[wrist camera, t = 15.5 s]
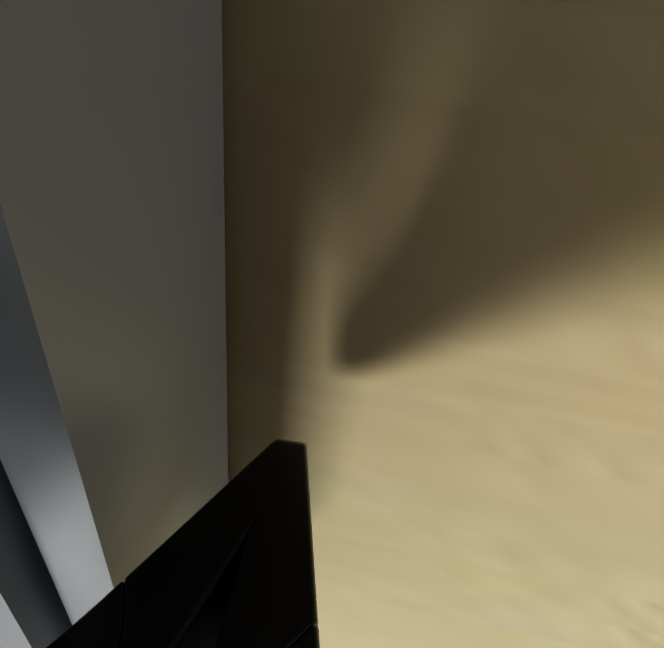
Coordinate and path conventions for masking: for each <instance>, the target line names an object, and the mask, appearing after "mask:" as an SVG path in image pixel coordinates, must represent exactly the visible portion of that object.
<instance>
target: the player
mask: <svg viewBox="0 0 664 648" xmlns="http://www.w3.org/2000/svg"><path fill="white" fill-rule="evenodd" d="M71 626H72V623H71V621H70V619H69V616H68V614H67V612H66V610H65V607H64V605H63V603H62V600H61V598H60V596H59V593H58V591H57V589H56V587H55V584H54V582H53V580H52V577H51V575H50V573H49V570H48V568H47V566H46V563H45V561H44V559H43V557H42V554H41V552H40V550H39V547H38V545H37V543H36V540H35V538H34V536H33V534H32V531H31V529H30V527H29V524H28V522H27V520H26V517H25V515H24V513H23V510H22V508H21V506H20V504H19V501H18V499H17V497H16V494H15V492H14V490H13V487H12V485H11V483H10V480H9V478H8V476H7V474H6V471H5V469H4V467H3V464H2V462H1V460H0V648H46V647H47V646H48V645H50V644H51V643H52V642H53V641H54V640H56V639H57V638H58V637H59V636H61V635H62V634H63V633H64V632H66V631H67V630H68V629H69V628H70V627H71Z"/></svg>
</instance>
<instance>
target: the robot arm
mask: <svg viewBox="0 0 664 648" xmlns="http://www.w3.org/2000/svg"><path fill="white" fill-rule="evenodd" d="M46 648H320V644H319V629H318V617H317V601H316V586H315V570H314V555H313V539H312V524H311V509H310V493H309V478H308V462H307V447H306V444H305V443H300V442H294V441H288V440H282V439H277V440H275V441H273V442H272V443H271V444H270V445H269V446H268V447H267V448H266V449H265V450H264V451H262V452H261V453H260V454H259V455H258V456H257V457H256V458H255V459H254V460H253V461H252V462H251V463H249V464H248V465H247V466H246V467H245V468H244V469H243V470H242V471H241V472H240V473H239V474H238V475H236V476H235V477H234V478H233V479H232V480H231V481H230V482H229V483H228V484H227V485H226V486H224V487H223V488H222V489H221V490H220V491H219V492H218V493H217V494H216V495H215V496H214V497H213V498H211V499H210V500H209V501H208V502H207V503H206V504H205V505H204V506H203V507H202V508H201V509H200V510H198V511H197V512H196V513H195V514H194V515H193V516H192V517H191V518H190V519H189V520H188V521H187V522H185V523H184V524H183V525H182V526H181V527H180V528H179V529H178V530H177V531H176V532H175V533H174V534H172V535H171V536H170V537H169V538H168V539H167V540H166V541H165V542H164V543H163V544H162V545H161V546H159V547H158V548H157V549H156V550H155V551H154V552H153V553H152V554H151V555H150V556H149V557H148V558H146V559H145V560H144V561H143V562H142V563H141V564H140V565H139V566H138V567H137V568H136V569H134V570H133V571H132V572H131V573H130V574H129V575H128V576H127V577H126V578H125V582H120V583H119V584H118V585H117V586H116V587H115V588H114V589H113V590H111V591H110V592H109V593H108V594H107V595H106V596H105V597H104V598H103V599H102V600H101V601H99V602H98V603H97V604H96V605H95V606H94V607H93V608H92V609H90V610H89V611H88V612H87V613H86V614H85V615H84V616H83V617H81V618H80V619H79V620H78V621H77V622H76V623H75V624H73V625H72V626H71V627H70V628H69V629H68V630H67V631H66V632H64V633H63V634H62V635H61V636H59V637H58V638H57V639H56V640H54V641H53V642H52V643H51V644H50V645H48V646H47V647H46Z"/></svg>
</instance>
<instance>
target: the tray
mask: <svg viewBox="0 0 664 648" xmlns="http://www.w3.org/2000/svg"><path fill="white" fill-rule="evenodd" d="M0 460H1V462H2V464H3V467H4V469H5V471H6V474H7V476H8V478H9V480H10V483H11V485H12V487H13V490H14V492H15V494H16V497H17V499H18V501H19V504H20V506H21V508H22V510H23V513H24V515H25V517H26V520H27V522H28V524H29V527H30V529H31V531H32V534H33V536H34V538H35V540H36V543H37V545H38V547H39V550H40V552H41V554H42V557H43V559H44V561H45V563H46V566H47V568H48V570H49V573H50V575H51V577H52V580H53V582H54V584H55V587H56V589H57V591H58V593H59V596H60V598H61V600H62V603H63V605H64V607H65V610H66V612H67V614H68V616H69V619H70V621H71V623H72V625H73V624H75V623H76V622H77V621H78V620H79V619H80V618H81V617H83V616H84V615H85V614H86V613H87V612H88V611H89V610H90V609H92V608H93V607H94V606H95V605H96V604H97V603H98V602H99V601H101V600H102V599H103V598H104V597H105V596H106V595H107V594H108V593H109V592H110V591H111V590H113V589H114V588H115V587H116V586H117V585H118V584H119V583H120V582H125V578H126V577H127V576H128V575H129V574H130V573H131V572H132V571H133V570H134V569H136V568H137V567H138V566H139V565H140V564H141V563H142V562H143V561H144V560H145V559H146V558H148V557H149V556H150V555H151V554H152V553H153V552H154V551H155V550H156V549H157V548H158V547H159V546H161V545H162V544H163V543H164V542H165V541H166V540H167V539H168V538H169V537H170V536H171V535H172V534H174V533H175V532H176V531H177V530H178V529H179V528H180V527H181V526H182V525H183V524H184V523H185V522H187V521H188V520H189V519H190V518H191V517H192V516H193V515H194V514H195V513H196V512H197V511H198V510H200V509H201V508H202V507H203V506H204V505H205V504H206V503H207V502H208V501H209V500H210V499H211V498H213V497H214V496H215V495H216V494H217V493H218V492H219V491H220V490H221V489H222V488H223V487H224V486H226V485H227V484H228V430H227V358H226V285H225V212H224V140H223V67H222V0H0Z"/></svg>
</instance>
